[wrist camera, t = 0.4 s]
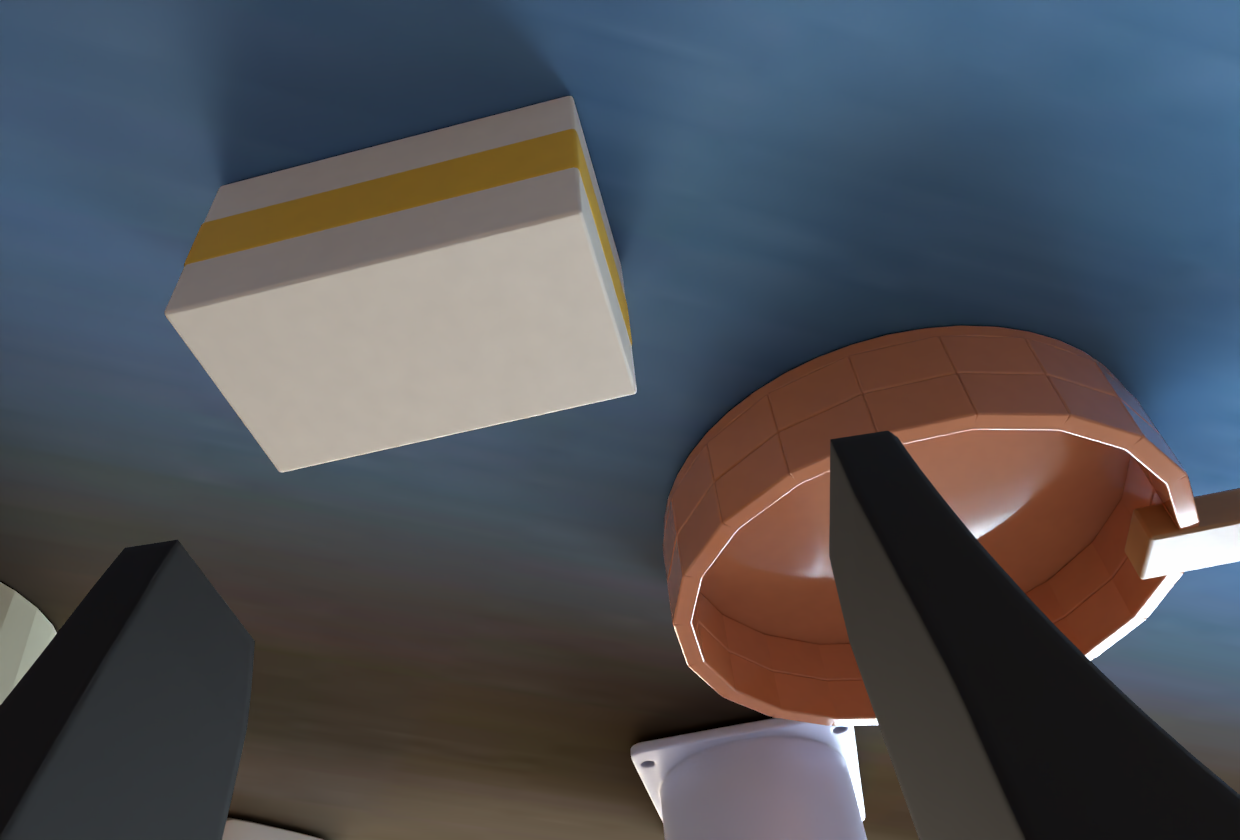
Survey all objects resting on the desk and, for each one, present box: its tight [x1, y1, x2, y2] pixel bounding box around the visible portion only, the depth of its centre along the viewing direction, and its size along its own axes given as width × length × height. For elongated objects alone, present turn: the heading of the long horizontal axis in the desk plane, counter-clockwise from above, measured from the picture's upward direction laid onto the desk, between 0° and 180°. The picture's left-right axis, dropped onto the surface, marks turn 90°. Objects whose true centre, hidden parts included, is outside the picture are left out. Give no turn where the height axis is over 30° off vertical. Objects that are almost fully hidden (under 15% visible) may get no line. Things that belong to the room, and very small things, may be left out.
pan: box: [663, 325, 1200, 726], centre depth 25 cm, size 13×13×3 cm
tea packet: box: [165, 96, 637, 472], centre depth 18 cm, size 4×7×4 cm, turn 103°
